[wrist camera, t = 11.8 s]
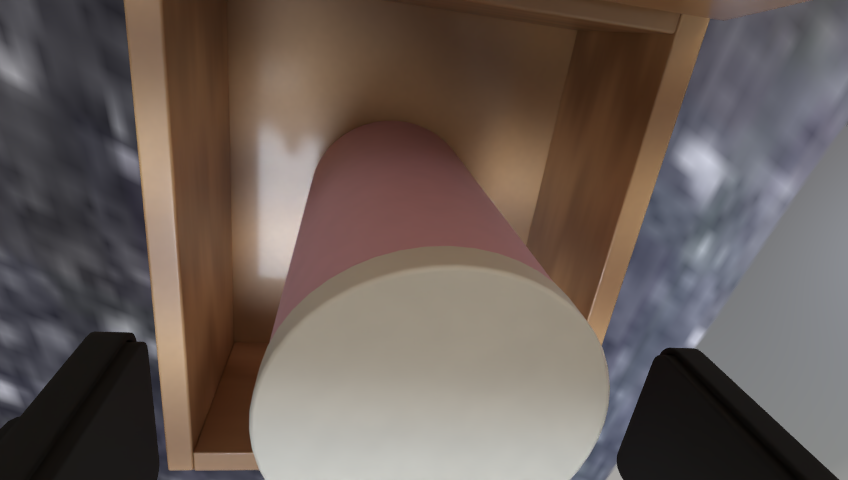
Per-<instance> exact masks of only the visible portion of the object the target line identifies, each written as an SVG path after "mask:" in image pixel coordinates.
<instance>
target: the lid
mask: <svg viewBox="0 0 848 480" xmlns="http://www.w3.org/2000/svg"><path fill="white" fill-rule="evenodd" d="M603 1H609V2H615V3H621V4H627V5H633V6H639V7H645V8H651V9H657V10H663V11H669V12H675V13H681V14H687V15H692V16H698V17H704V18H710V19H716V20H722V21H724V20H729V19H733V18H737V17H742V16H746V15H750V14H755V13H759V12H763V11H768V10H772V9H776V8H781V7H785V6H789V5H794V4H798V3H802V2H807V1H811V0H603Z"/></svg>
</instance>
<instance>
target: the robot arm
mask: <svg viewBox="0 0 848 480" xmlns="http://www.w3.org/2000/svg"><path fill="white" fill-rule="evenodd" d="M617 467H618V470H619V473H620V475H621V476H622V478H623V480H839V479H838V478H837V477H836V476H835V475H833V474H832V473H831V472H830V471H829V470H828V469H827V468H826V467H825V466H824V465H823V464H822V463H821V462H819V461H818V460H817V459H816V458H815V457H814V456H813V455H812V454H811V453H810V452H809V451H808V450H806V449H805V448H804V447H803V446H802V445H801V444H800V443H799V442H798V441H797V440H796V439H795V438H794V437H793V436H791V435H790V434H789V433H788V432H787V431H786V430H785V429H784V428H783V427H782V426H781V425H780V424H779V423H778V422H776V421H775V420H774V419H773V418H772V417H771V416H770V415H769V414H768V413H767V412H765V410H763V409H762V408H761V407H760V406H759V405H758V404H757V403H756V402H755V401H754V400H753V399H752V398H751V397H749V396H748V395H747V394H746V393H745V392H744V391H743V390H742V389H741V388H740V387H739V386H738V385H737V384H736V383H734V382H733V381H732V380H731V379H730V378H729V377H728V376H727V375H726V374H725V373H724V372H723V371H722V370H720V369H719V368H718V367H717V366H716V365H715V364H714V363H713V362H712V361H711V360H710V359H709V358H708V357H706V356H705V355H704V354H703V353H702V352H701V351H699V350H697V349H693V348H667V349H664V350H663V351H662V352H661V354H660V355H658V356H657V357H655V359H654V360H653V363H652V365H651V368H650V370H649V373H648V376H647V378H646V381H645V384H644V386H643V389H642V391H641V394H640V397H639V399H638V402H637V404H636V407H635V410H634V412H633V415H632V417H631V420H630V423H629V425H628V428H627V431H626V433H625V436H624V438H623V441H622V444H621V446H620V449H619V451H618V455H617ZM158 472H159V455H158V445H157V435H156V425H155V415H154V406H153V396H152V386H151V376H150V366H149V356H148V348H147V345H146V343H145V342H136V338H135V336H134V334H132V333H125V332H92V333H90V334H89V335H88V336H87V337H86V338H85V339H84V340H83V342H82V343H81V344H80V345H79V346H78V348H77V349H76V350H75V351H74V352H73V354H72V355H71V356H70V357H69V358H68V360H67V361H66V362H65V363H64V364H63V366H62V367H61V368H60V369H59V371H58V372H57V373H56V374H55V375H54V377H53V378H52V379H51V380H50V381H49V383H48V384H47V385H46V386H45V387H44V389H43V390H42V391H41V392H40V393H39V395H38V396H37V397H36V398H35V399H34V401H33V402H32V403H31V404H30V406H29V407H28V408H27V409H26V410H25V412H24V413H23V414H22V415H21V416H20V417H16V418H14V419H12V420H10V421H8V422H7V423H6V424H5V425H4V426H3V427H2V428H1V429H0V480H157V477H158Z"/></svg>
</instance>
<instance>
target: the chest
mask: <svg viewBox="0 0 848 480" xmlns="http://www.w3.org/2000/svg"><path fill="white" fill-rule="evenodd" d="M124 8H125V18H126V29H127V39H128V50H129V60H130V71H131V81H132V92H133V102H134V113H135V123H136V134H137V144H138V155H139V166H140V176H141V187H142V197H143V208H144V218H145V229H146V239H147V250H148V260H149V271H150V281H151V292H152V302H153V313H154V323H155V334H156V344H157V355H158V365H159V376H160V386H161V397H162V407H163V418H164V428H165V439H166V450H167V460H168V469H169V470H193V469H194V470H196V471H199V470H259V468H258V465H257V462H256V459H255V456H254V454H253V451H252V447H251V440H250V434H249V410H250V405H251V400H252V395H253V390H254V386H255V383H256V379H257V375H258V372H259V368H260V365H261V362H262V359H263V357H264V354H265V351H266V349H267V346H268V345H269V342H270V338H271V334H272V330H273V327H274V323H275V319H276V315H277V312H278V308H279V304H280V300H281V296H282V293H283V289H284V285H285V281H286V277H287V274H288V270H289V266H290V262H291V258H292V255H293V251H294V247H295V243H296V239H297V236H298V232H299V228H300V224H301V220H302V217H303V213H304V209H305V205H306V201H307V198H308V194H309V190H310V186H311V182H312V179H313V175H314V173H315V170H316V167H317V165H318V164H319V162H320V160H321V158H322V157H323V155H324V154H325V152H326V151H327V150H328V149H329V148H330V147H331V145H332V144H333V143H334V142H335V141H337V140H338V139H339V138H340V137H342V136H343V135H344V134H346V133H348V132H350V131H351V130H353V129H355V128H358V127H360V126H362V125H366V124H369V123H373V122H379V121H401V122H408V123H412V124H415V125H418V126H421V127H423V128H425V129H428V130H429V131H431V132H433V133H434V134H436V135H437V136H439V137H440V138H441V139H442V140H444V141H445V142H446V143H447V144H448V145H449V146H450V147H451V149H452V150H453V151H454V152H455V154H456V155H457V156H458V158H459V159H460V160H461V162H462V163H463V164H464V166H465V167H466V168H467V169H468V171H469V172H470V173H471V175H472V176H473V177H474V179H475V180H476V181H477V183H478V184H479V185H480V186H481V188H482V189H483V190H484V192H485V193H486V194H487V196H488V197H489V198H490V200H491V201H492V202H493V203H494V205H495V206H496V207H497V209H498V210H499V211H500V213H501V214H502V215H503V217H504V218H505V219H506V221H507V222H508V223H509V224H510V226H511V227H512V228H513V230H514V231H515V232H516V234H517V235H518V236H519V238H520V239H521V240H522V241H523V243H524V244H525V245H526V247H527V248H528V249H529V251H530V252H531V253H532V255H533V256H534V257H535V258H536V260H537V261H538V262H539V264H540V265H541V266H542V268H543V269H544V270H545V272H546V273H547V274H548V276H549V277H550V278H551V279H552V281H553V282H554V283H555V284H556V285H557V286H558V287H559V288H560V289H561V290H562V291H563V292H564V293H565V294H566V295H567V296H568V297H569V298H570V300H571V301H572V302H573V303H574V305H575V306H576V307H577V309H578V310H579V311H580V312H581V314H582V315H583V316H584V318H585V319H586V320H587V322H588V323H589V325H590V326H591V328H592V329H593V330H594V332H595V334H596V336H597V338H598V340H599V342H600V344H601V346H602V343H603V340H604V337H605V334H606V331H607V328H608V325H609V322H610V319H611V316H612V313H613V310H614V307H615V304H616V301H617V297H618V294H619V291H620V288H621V285H622V282H623V279H624V276H625V273H626V270H627V267H628V264H629V261H630V258H631V255H632V252H633V249H634V246H635V243H636V240H637V237H638V234H639V231H640V228H641V225H642V222H643V219H644V216H645V213H646V210H647V207H648V204H649V201H650V198H651V195H652V192H653V189H654V186H655V183H656V180H657V177H658V174H659V171H660V168H661V165H662V162H663V159H664V156H665V153H666V150H667V147H668V144H669V141H670V138H671V135H672V132H673V129H674V126H675V123H676V120H677V117H678V114H679V111H680V108H681V105H682V102H683V99H684V96H685V93H686V90H687V87H688V83H689V80H690V77H691V74H692V71H693V68H694V65H695V62H696V59H697V56H698V53H699V50H700V47H701V44H702V41H703V38H704V35H705V32H706V29H707V26H708V23H709V20H710V18H704V17H698V16H692V15H687V14H681V13H675V12H669V11H663V10H657V9H651V8H645V7H639V6H633V5H627V4H621V3H615V2H609V1H603V0H124Z"/></svg>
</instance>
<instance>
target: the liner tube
mask: <svg viewBox="0 0 848 480" xmlns="http://www.w3.org/2000/svg"><path fill="white" fill-rule="evenodd" d="M609 391H610V385H609V374H608V366H607V362H606V359H605V355H604V351H603V348H602V346H601V344H600V342H599V340H598V338H597V336H596V334H595V332H594V330H593V329H592V328H591V326H590V325H589V323H588V322H587V320H586V319H585V318H584V316H583V315H582V314H581V312H580V311H579V310H578V309H577V307H576V306H575V305H574V303H573V302H572V301H571V300H570V298H569V297H568V296H567V295H566V294H565V293H564V292H563V291H562V290H561V289H560V288H559V287H558V286H557V285H556V284H555V283H554V282H553V281H552V279H551V278H550V277H549V276H548V274H547V273H546V272H545V270H544V269H543V268H542V266H541V265H540V264H539V262H538V261H537V260H536V258H535V257H534V256H533V255H532V253H531V252H530V251H529V249H528V248H527V247H526V245H525V244H524V243H523V241H522V240H521V239H520V238H519V236H518V235H517V234H516V232H515V231H514V230H513V228H512V227H511V226H510V224H509V223H508V222H507V221H506V219H505V218H504V217H503V215H502V214H501V213H500V211H499V210H498V209H497V207H496V206H495V205H494V203H493V202H492V201H491V200H490V198H489V197H488V196H487V194H486V193H485V192H484V190H483V189H482V188H481V186H480V185H479V184H478V183H477V181H476V180H475V179H474V177H473V176H472V175H471V173H470V172H469V171H468V169H467V168H466V167H465V166H464V164H463V163H462V162H461V160H460V159H459V158H458V156H457V155H456V154H455V152H454V151H453V150H452V149H451V147H450V146H449V145H448V144H447V143H446V142H445V141H444V140H442V139H441V138H440V137H439V136H437V135H436V134H434V133H433V132H431V131H429V130H428V129H425V128H423V127H421V126H418V125H415V124H412V123H408V122H401V121H379V122H373V123H369V124H366V125H362V126H360V127H358V128H355V129H353V130H351V131H350V132H348V133H346V134H344V135H343V136H342V137H340V138H339V139H338V140H337V141H335V142H334V143H333V144H332V145H331V147H330V148H329V149H328V150H327V151H326V152H325V154H324V155H323V157H322V158H321V160H320V162H319V164H318V165H317V167H316V170H315V173H314V175H313V179H312V182H311V186H310V190H309V194H308V198H307V201H306V205H305V209H304V213H303V217H302V220H301V224H300V228H299V232H298V236H297V239H296V243H295V247H294V251H293V255H292V258H291V262H290V266H289V270H288V274H287V277H286V281H285V285H284V289H283V293H282V296H281V300H280V304H279V308H278V312H277V315H276V319H275V323H274V327H273V330H272V334H271V338H270V342H269V345H268V346H267V349H266V351H265V354H264V357H263V359H262V362H261V365H260V368H259V372H258V375H257V379H256V383H255V386H254V390H253V395H252V400H251V405H250V410H249V434H250V440H251V447H252V451H253V454H254V456H255V459H256V462H257V465H258V468H259V470H260V472H261V474H262V475H263V477H264V479H265V480H570V479H571V478H572V477H573V476H574V475H575V474H576V472H577V471H578V470H579V469H580V467H581V466H582V465H583V463H584V462H585V460H586V459H587V458H588V456H589V455H590V453H591V451H592V449H593V448H594V446H595V444H596V442H597V440H598V438H599V435H600V433H601V430H602V428H603V425H604V423H605V418H606V414H607V410H608V405H609Z"/></svg>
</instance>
